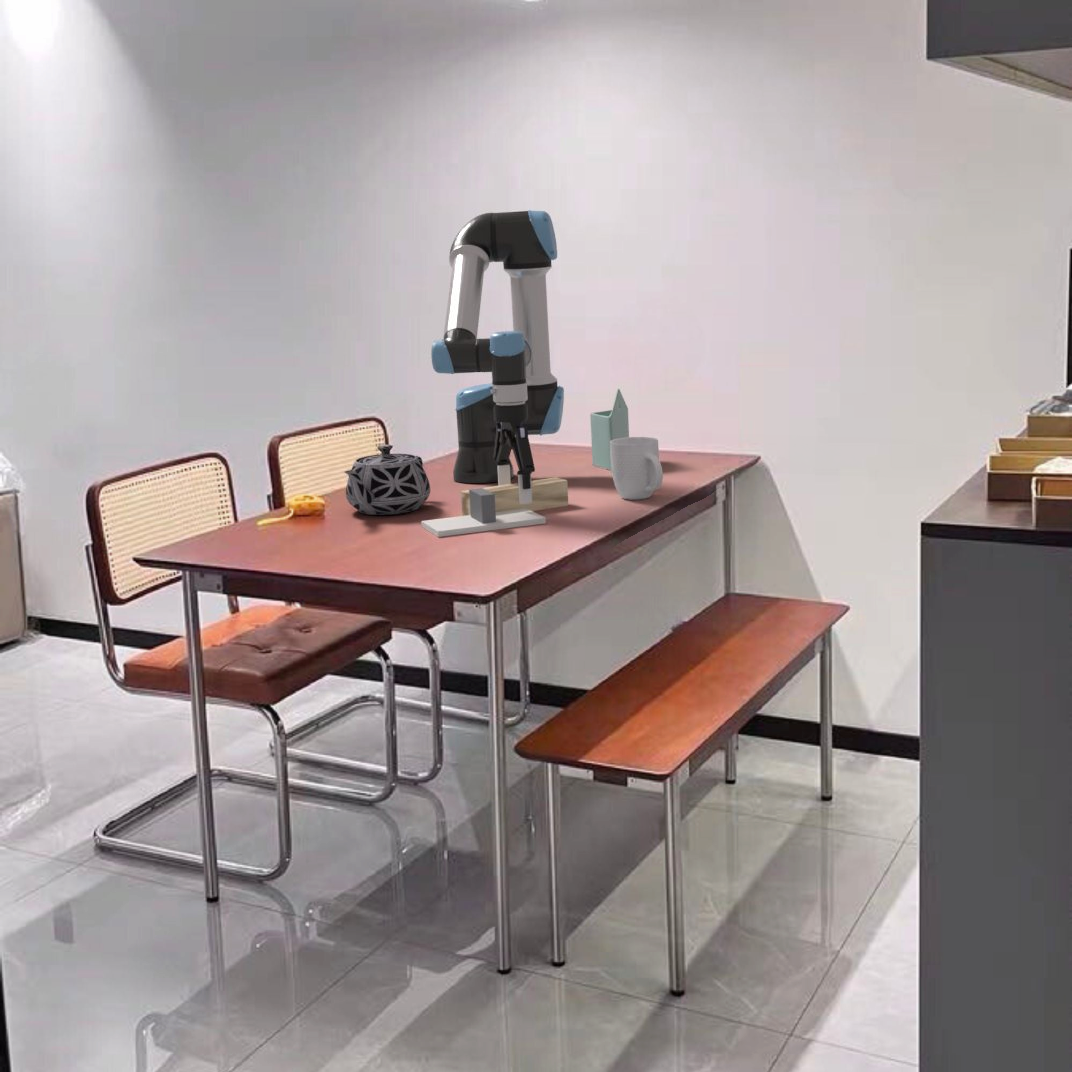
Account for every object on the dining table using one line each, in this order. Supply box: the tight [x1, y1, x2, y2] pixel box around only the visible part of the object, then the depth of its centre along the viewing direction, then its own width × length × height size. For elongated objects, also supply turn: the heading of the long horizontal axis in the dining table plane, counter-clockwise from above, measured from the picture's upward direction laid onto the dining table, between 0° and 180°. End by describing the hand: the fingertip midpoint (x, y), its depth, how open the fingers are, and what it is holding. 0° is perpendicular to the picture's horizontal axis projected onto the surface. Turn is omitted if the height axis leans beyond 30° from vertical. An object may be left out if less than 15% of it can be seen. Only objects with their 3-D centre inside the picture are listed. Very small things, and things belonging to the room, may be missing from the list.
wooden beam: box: [460, 476, 569, 516], centre depth 327 cm, size 5×24×6 cm, turn 118°
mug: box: [610, 436, 664, 501], centre depth 333 cm, size 15×11×13 cm
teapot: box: [343, 444, 431, 516], centre depth 333 cm, size 19×31×15 cm, turn 153°
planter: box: [589, 388, 630, 472], centre depth 377 cm, size 16×8×20 cm, turn 162°
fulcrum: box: [421, 487, 547, 538], centre depth 314 cm, size 12×24×7 cm, turn 111°
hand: (515, 498), depth 327 cm, fingers open, 13 cm apart
